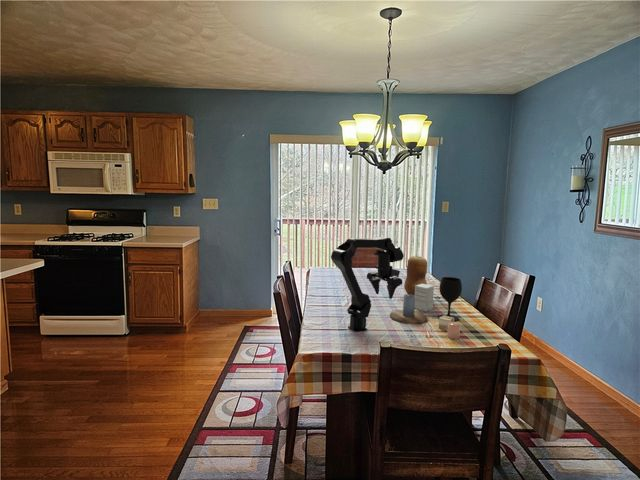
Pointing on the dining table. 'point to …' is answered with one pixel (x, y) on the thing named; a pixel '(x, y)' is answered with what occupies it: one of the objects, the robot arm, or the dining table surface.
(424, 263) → the butternut squash
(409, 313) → the blue-grey cup
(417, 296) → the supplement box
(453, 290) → the wine glass
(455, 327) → the pink short cylinder
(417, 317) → the brown bread loaf
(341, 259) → the robot arm
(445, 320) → the birch block
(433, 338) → the dining table surface
